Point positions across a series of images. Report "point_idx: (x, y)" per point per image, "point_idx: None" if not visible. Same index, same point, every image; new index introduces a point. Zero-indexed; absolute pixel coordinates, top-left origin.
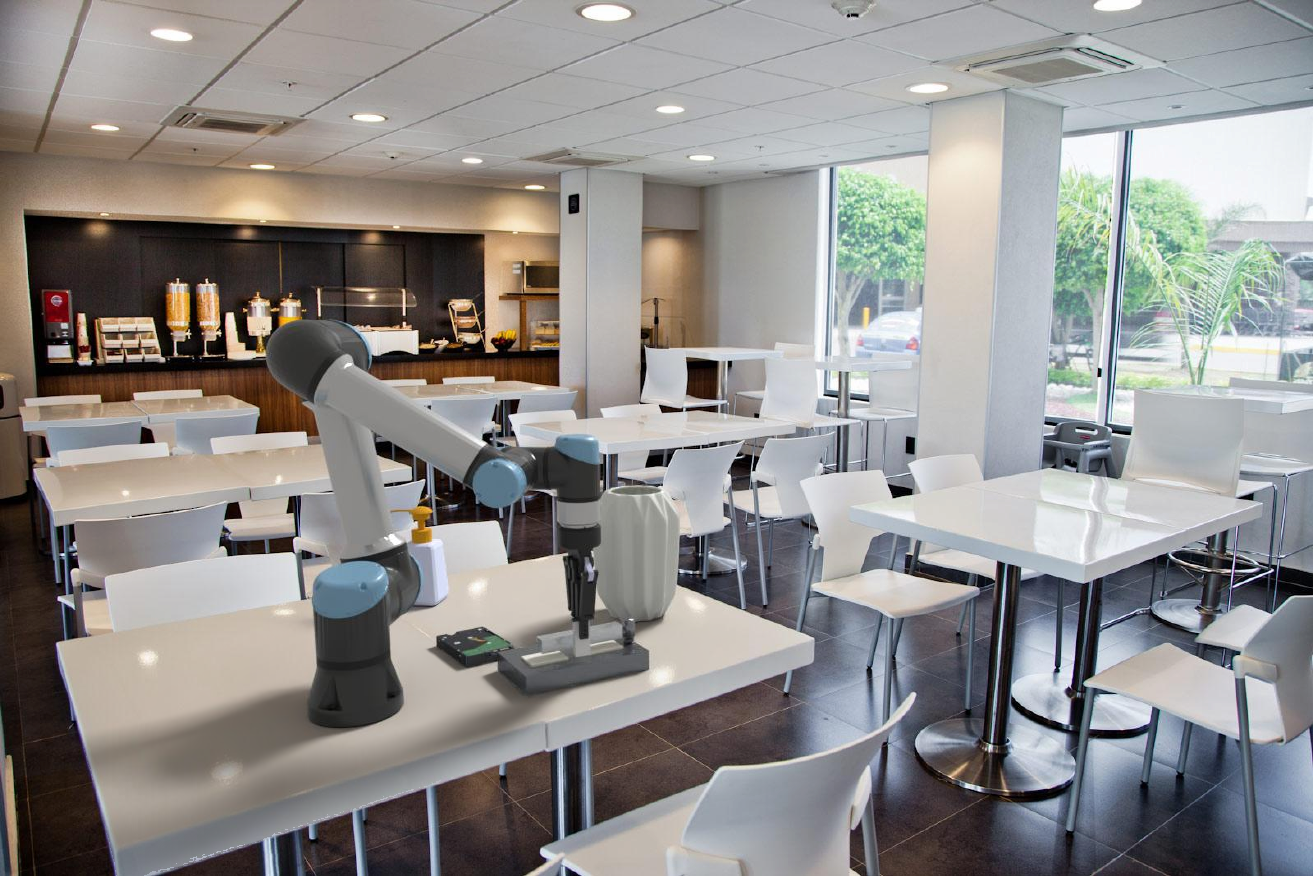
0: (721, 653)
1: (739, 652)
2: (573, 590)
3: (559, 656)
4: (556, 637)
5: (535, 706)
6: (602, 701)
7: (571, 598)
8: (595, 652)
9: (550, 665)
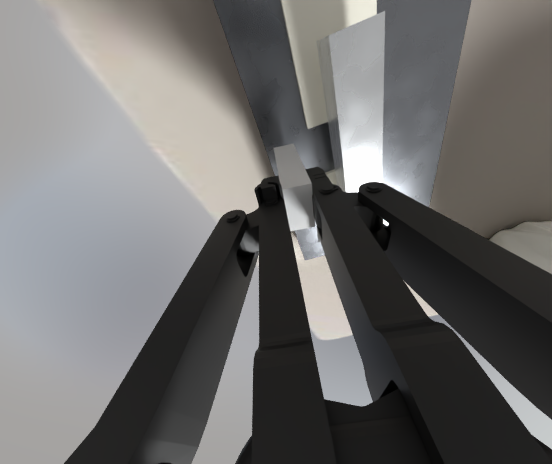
0: (320, 300)
1: (316, 310)
2: (346, 271)
3: (323, 105)
4: (337, 104)
5: (144, 4)
6: (185, 169)
7: (354, 226)
8: None
9: (281, 70)
